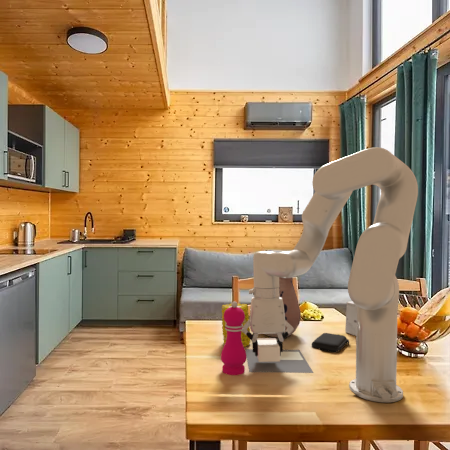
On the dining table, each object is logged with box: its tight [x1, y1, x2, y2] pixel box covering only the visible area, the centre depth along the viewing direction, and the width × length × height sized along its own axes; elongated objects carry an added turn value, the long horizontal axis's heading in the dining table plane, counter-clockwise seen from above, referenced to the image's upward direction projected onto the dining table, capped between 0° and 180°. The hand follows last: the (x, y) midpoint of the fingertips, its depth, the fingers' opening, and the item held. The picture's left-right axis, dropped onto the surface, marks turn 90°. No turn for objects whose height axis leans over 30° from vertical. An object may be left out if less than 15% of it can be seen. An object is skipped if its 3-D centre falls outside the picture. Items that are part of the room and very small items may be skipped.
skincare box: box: [345, 300, 358, 337], centre depth 150 cm, size 6×4×12 cm
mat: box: [244, 348, 314, 374], centre depth 118 cm, size 20×18×1 cm
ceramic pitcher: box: [264, 277, 302, 339], centre depth 149 cm, size 18×21×25 cm
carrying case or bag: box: [311, 332, 350, 353], centre depth 134 cm, size 11×3×15 cm
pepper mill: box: [220, 301, 247, 376], centre depth 109 cm, size 7×7×20 cm
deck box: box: [257, 337, 280, 362], centre depth 114 cm, size 9×6×4 cm
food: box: [221, 303, 251, 348], centre depth 134 cm, size 15×12×10 cm
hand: (267, 354), depth 114 cm, fingers closed on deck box, 6 cm apart
